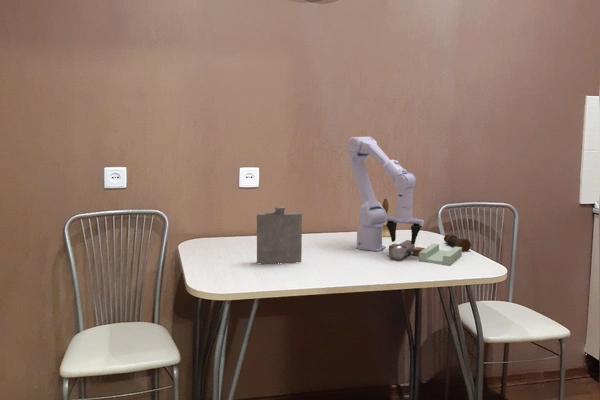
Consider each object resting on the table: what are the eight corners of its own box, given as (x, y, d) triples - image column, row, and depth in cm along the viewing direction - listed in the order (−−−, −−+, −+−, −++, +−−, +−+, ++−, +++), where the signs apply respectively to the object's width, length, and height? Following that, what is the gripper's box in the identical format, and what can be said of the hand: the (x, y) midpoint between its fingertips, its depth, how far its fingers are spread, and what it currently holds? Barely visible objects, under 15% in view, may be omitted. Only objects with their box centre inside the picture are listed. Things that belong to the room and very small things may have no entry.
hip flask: (300, 260, 205) (301, 205, 202) (302, 263, 201) (303, 207, 198) (256, 262, 202) (256, 206, 199) (257, 265, 198) (257, 208, 195)
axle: (401, 261, 205) (401, 248, 204) (388, 260, 207) (388, 246, 207) (414, 253, 217) (415, 240, 216) (402, 252, 219) (402, 239, 219)
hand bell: (389, 238, 242) (391, 200, 239) (371, 235, 246) (373, 199, 243) (397, 234, 249) (398, 198, 246) (379, 232, 253) (381, 196, 250)
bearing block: (388, 252, 218) (389, 245, 218) (392, 250, 221) (392, 243, 221) (421, 256, 212) (421, 250, 211) (424, 254, 215) (425, 248, 215)
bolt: (448, 247, 235) (466, 255, 220) (438, 241, 234) (455, 249, 219) (455, 235, 235) (473, 242, 220) (445, 229, 234) (463, 236, 219)
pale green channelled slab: (418, 260, 206) (419, 252, 205) (432, 251, 220) (432, 243, 219) (449, 265, 200) (450, 256, 200) (461, 255, 214) (462, 247, 213)
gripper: (381, 206, 210) (380, 242, 212) (420, 209, 203) (418, 247, 205) (389, 203, 216) (387, 238, 218) (426, 207, 209) (424, 243, 211)
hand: (403, 242), depth 212 cm, fingers open, 7 cm apart
